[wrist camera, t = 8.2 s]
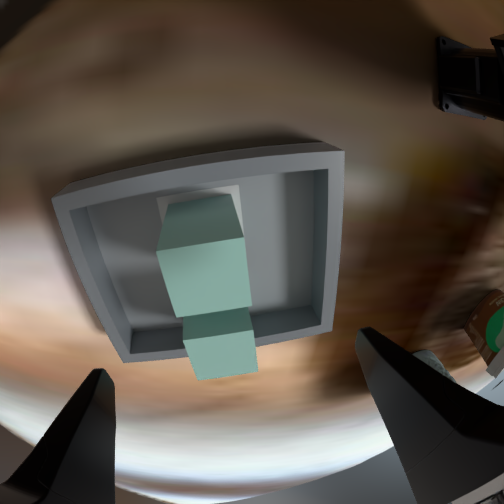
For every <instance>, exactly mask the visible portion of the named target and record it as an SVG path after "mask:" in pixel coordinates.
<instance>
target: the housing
mask: <svg viewBox="0 0 504 504" xmlns="http://www.w3.org/2000/svg"><path fill="white" fill-rule="evenodd" d="M229 194H231V196H232V199H233V202H234V205H235V209H236V212H237V215H238V219H239V222H240V225H241V229H242V232H243V235H244V241H245V249H246V258H247V266H248V275H249V284H250V292H251V300H252V306H248V307H242V308H236V309H230V310H224V311H218V312H211V313H205V314H198V315H191V316H184V317H177V318H176V315H175V312H174V309H173V306H172V303H171V300H170V297H169V294H168V291H167V287H166V284H165V281H164V278H163V274H162V271H161V268H160V264H159V261H158V257H157V254H156V249H157V245H158V241H159V237H160V233H161V229H162V226H163V222H164V218H165V214H166V211H167V207H168V204H174V203H179V202H185V201H191V200H197V199H203V198H209V197H216V196H222V195H229ZM343 195H344V150H341V149H339V148H337V147H335V146H332V145H330V144H328V143H325V142H315V143H299V144H285V145H274V146H263V147H253V148H245V149H236V150H228V151H221V152H214V153H207V154H200V155H194V156H188V157H182V158H176V159H171V160H165V161H160V162H155V163H150V164H145V165H140V166H136V167H131V168H127V169H122V170H118V171H114V172H110V173H106V174H102V175H98V176H94V177H90V178H86V179H82V180H79V181H75V182H72V183H69V184H68V185H67V186H66V187H64V188H63V189H62V190H60V191H59V192H58V193H57V194H56V195H54V196H53V197H52V198H51V200H52V204H53V207H54V210H55V213H56V216H57V219H58V222H59V225H60V228H61V231H62V234H63V237H64V239H65V242H66V245H67V247H68V250H69V253H70V255H71V258H72V260H73V263H74V265H75V268H76V270H77V272H78V275H79V277H80V279H81V282H82V284H83V286H84V288H85V291H86V293H87V295H88V297H89V299H90V301H91V303H92V306H93V308H94V310H95V312H96V314H97V316H98V318H99V320H100V322H101V324H102V325H103V327H104V329H105V331H106V333H107V335H108V337H109V339H110V340H111V342H112V344H113V346H114V348H115V349H116V351H117V353H118V355H119V356H120V358H121V360H122V361H123V363H129V362H142V361H154V360H164V359H174V358H183V357H189V359H190V361H191V364H192V367H193V369H194V372H195V374H196V377H197V379H198V380H205V379H213V378H220V377H227V376H234V375H240V374H246V373H252V372H258V364H257V356H256V348H255V347H257V346H263V345H268V344H273V343H279V342H284V341H289V340H293V339H298V338H303V337H307V336H312V335H316V334H321V333H325V332H329V331H332V325H333V318H334V310H335V301H336V292H337V283H338V272H339V261H340V249H341V235H342V218H343Z"/></svg>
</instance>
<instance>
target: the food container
mask: <svg viewBox="0 0 504 504" xmlns="http://www.w3.org/2000/svg"><path fill="white" fill-rule="evenodd" d="M464 330H465V331H466V333H467V334H468V336H469V337H470V339H471V340H472V342H473V343H474V345H475V347H476V348H477V350H478V351H479V353H480V354H481V356H482V358H483V359H484V361H485V362H486V364H487V366H488V368H487V369H486V371H487V372H488V373H489V374H490V375H491V376H494V377H495V378H497V376H498V375H499V373H500V372H501V371H502V369H503V368H504V293H503V292H502V291H501V290H495V291H493V292H491V293H490V294H488V295H487V296H486V297H485V298H484V299H483V300H482V301H481V302H480V303H479V304H478V306H477V307H476V308H475V310H474V311H473V312H472V314H471V315H470V317H469V319H468V320H467V322H466V324H465V327H464Z"/></svg>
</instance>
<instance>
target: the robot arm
mask: <svg viewBox="0 0 504 504" xmlns="http://www.w3.org/2000/svg"><path fill="white" fill-rule="evenodd" d="M490 40H491V43H492V45H493V46H494V48H495V50H494V49H477V48H471V47H468V46H466V45H464V44H461V43H459V42H456V41H454V40H451V39H449V38H446V37H443V36H439V37H437V39H436V42H437V53H438V67H439V105H440V109H441V110H442V111H444V112H449V113H454V114H460V115H465V116H469V117H474V118H479V119H483V120H485V119H486V118H487V117H490V118H494V119H497V120H501V121H504V34H502V35H498V36H494V37H491V38H490ZM442 42H443V43H442ZM445 105H446V106H445ZM355 350H356V353H357V356H358V359H359V362H360V365H361V368H362V371H363V374H364V377H365V380H366V383H367V385H368V388H369V390H370V392H371V394H372V397H373V399H374V401H375V403H376V405H377V408H378V410H379V412H380V414H381V417H382V419H383V421H384V423H385V426H386V428H387V430H388V432H389V435H390V437H391V439H392V442H393V444H394V446H395V449H396V451H397V454H398V456H399V458H400V461H401V463H402V466H403V468H404V470H405V473H406V475H407V478H408V480H409V483H410V486H411V488H412V491H413V493H414V496H415V499H416V501H417V504H448V503H450V502H452V504H504V406H500V405H497V404H495V403H493V402H491V401H489V400H487V399H485V398H483V397H481V396H479V395H477V394H475V393H473V392H471V391H469V390H467V389H466V388H464V387H462V386H460V385H459V384H457V383H455V382H454V381H452V380H451V379H449V378H448V377H446V376H444V375H442V374H441V373H440V372H438V371H437V370H435V369H434V368H432V367H431V366H429V365H428V364H426V363H425V362H423V361H422V360H420V359H419V358H417V357H416V356H414V355H413V354H411V353H409V352H408V351H406V350H405V349H403V348H402V347H400V346H399V345H397V344H396V343H394V342H393V341H391V340H390V339H388V338H387V337H385V336H384V335H382V334H381V333H379V332H378V331H376V330H375V329H373V328H371V327H364V328H361V329H359V330H358V333H357V338H356V342H355ZM115 434H116V412H115V386H114V382H113V380H112V379H111V378H110V376H109V375H108V373H107V372H106V370H105V369H103V368H96V369H93V370H92V371H91V372H90V374H89V375H88V376H87V377H86V379H85V380H84V381H83V383H82V384H81V385H80V387H79V388H78V389H77V390H76V392H75V393H74V394H73V396H72V397H71V398H70V400H69V401H68V402H67V404H66V405H65V406H64V408H63V409H62V410H61V412H60V413H59V414H58V416H57V417H56V418H55V420H54V421H53V423H52V424H51V425H50V427H49V428H48V430H47V431H46V432H45V434H44V436H43V437H42V438H41V439H40V441H39V442H38V443H37V445H36V446H35V447H34V449H33V450H32V452H31V453H30V454H29V455H28V457H27V458H26V459H25V460H24V461H23V462H22V464H21V465H20V466H19V467H18V468H17V470H16V471H15V472H14V473H13V475H11V476H10V478H9V479H8V480H6V481H5V482H3V483H1V484H0V504H115Z"/></svg>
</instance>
